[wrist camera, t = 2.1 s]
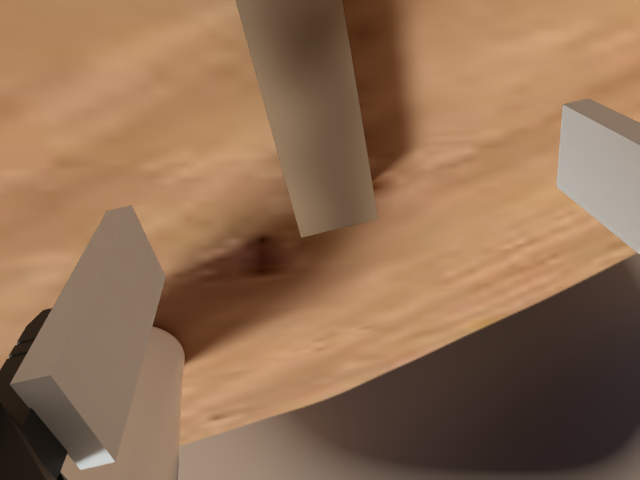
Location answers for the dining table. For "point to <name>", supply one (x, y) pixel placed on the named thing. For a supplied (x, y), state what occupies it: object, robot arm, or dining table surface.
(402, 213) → the dining table surface
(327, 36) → the batten
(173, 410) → the drinking glass
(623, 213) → the robot arm
